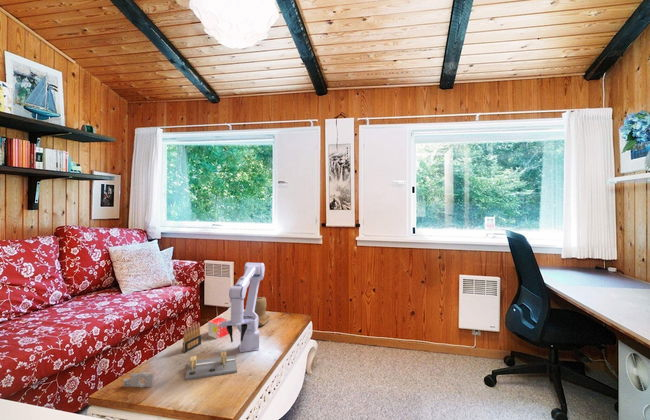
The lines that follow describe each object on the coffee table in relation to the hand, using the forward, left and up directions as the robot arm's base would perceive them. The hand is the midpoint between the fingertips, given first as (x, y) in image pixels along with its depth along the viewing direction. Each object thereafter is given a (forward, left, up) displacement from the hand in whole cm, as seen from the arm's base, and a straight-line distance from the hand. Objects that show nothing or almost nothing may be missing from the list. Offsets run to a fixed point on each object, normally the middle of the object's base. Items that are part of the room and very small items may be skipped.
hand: (236, 340), depth 149 cm
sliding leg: (+6, +2, -9) cm, 11 cm away
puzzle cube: (+8, -34, -11) cm, 37 cm away
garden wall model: (+39, +8, -11) cm, 41 cm away
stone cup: (-16, -46, -11) cm, 50 cm away
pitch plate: (+11, +2, -10) cm, 15 cm away
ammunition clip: (+21, -21, -11) cm, 32 cm away
